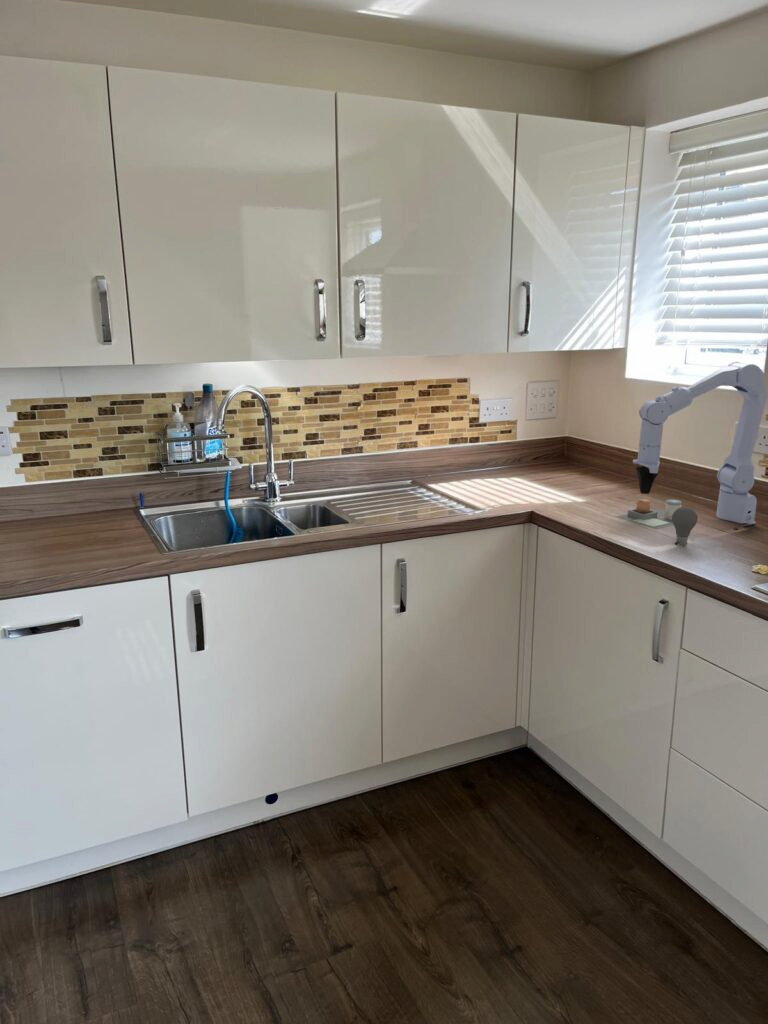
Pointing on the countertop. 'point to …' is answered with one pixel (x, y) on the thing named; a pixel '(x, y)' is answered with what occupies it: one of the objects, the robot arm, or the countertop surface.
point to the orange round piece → (643, 505)
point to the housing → (647, 518)
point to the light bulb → (684, 523)
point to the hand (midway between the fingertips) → (644, 493)
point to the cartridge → (671, 508)
